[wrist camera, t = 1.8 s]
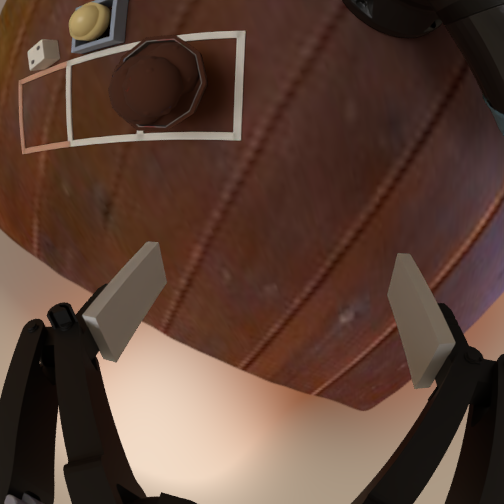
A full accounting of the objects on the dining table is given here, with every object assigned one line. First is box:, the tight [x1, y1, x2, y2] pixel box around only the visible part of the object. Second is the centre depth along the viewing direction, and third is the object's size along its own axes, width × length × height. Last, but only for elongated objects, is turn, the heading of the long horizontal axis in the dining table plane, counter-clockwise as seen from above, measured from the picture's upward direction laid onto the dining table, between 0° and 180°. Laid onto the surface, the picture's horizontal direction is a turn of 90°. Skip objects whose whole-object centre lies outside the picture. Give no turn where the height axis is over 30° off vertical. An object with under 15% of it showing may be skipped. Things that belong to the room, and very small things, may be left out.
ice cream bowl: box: [109, 35, 208, 132], centre depth 27 cm, size 11×11×15 cm
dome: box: [69, 2, 111, 41], centre depth 25 cm, size 6×6×5 cm
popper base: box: [71, 0, 128, 54], centre depth 27 cm, size 8×8×3 cm
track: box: [19, 31, 246, 154], centre depth 34 cm, size 15×43×1 cm, turn 87°
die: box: [28, 39, 60, 71], centre depth 29 cm, size 4×4×4 cm
